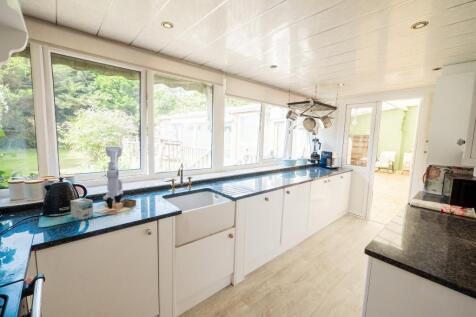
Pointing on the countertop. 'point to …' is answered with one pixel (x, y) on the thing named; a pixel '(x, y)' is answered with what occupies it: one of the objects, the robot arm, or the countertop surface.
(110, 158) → the robot arm
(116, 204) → the salmon pink block
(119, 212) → the board
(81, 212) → the light bulb box
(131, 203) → the box
